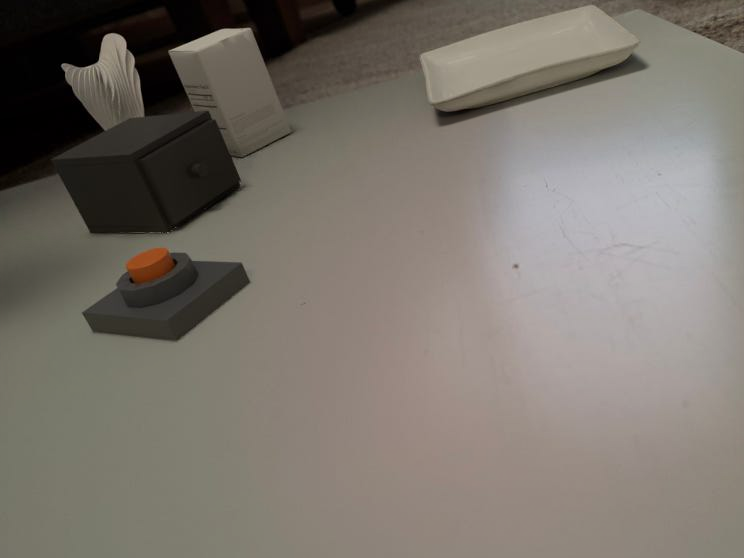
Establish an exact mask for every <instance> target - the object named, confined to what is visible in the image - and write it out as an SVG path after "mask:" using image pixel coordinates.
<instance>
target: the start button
mask: <svg viewBox="0 0 744 558" xmlns="http://www.w3.org/2000/svg"><path fill="white" fill-rule="evenodd" d="M170 253H171V252H170V251H169V249H168V248H166V247H155V248H151V249H148V250H144V251H142V252H140V253H138V254H136V255H135V256H132V258H130V259H129V260H128V261H127V262H126V263H125V269H126V272H127V271H128V273H129V274H130V276H131V278H132V280H133V282H134V283H136V284H141V283H145V282H149V281H152V280H155V279H157V278H159V277H161V276H164V275H166V274H167V273H168V272H170V271H171V270H172V269H174V268H175V263H174V261H173V259H172V257H171V255H170Z"/></svg>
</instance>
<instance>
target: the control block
mask: <svg viewBox="0 0 744 558" xmlns="http://www.w3.org/2000/svg"><path fill="white" fill-rule="evenodd" d="M169 253H170V255H171V257H172V259H173V261H174V263H175V268H174V269H172V270H171V271H170V272H168V273H167V274H166V275H164V276H161V277H159V278H157V279H155V280H152V281H149V282H145V283H141V284H136V283H134V282H133V280H132V278H131V276H130V274H129V273H128V271H127V270H126V272H124V273H122V274H121V276H120V277H119V278H118V280H117V281H116V283H115V285H116V288H114V289H113V290H112V291H111V292H108V294H106V295H104V297H102V298H101V299H99V300H97V301H96V302H95V303H93V304H92V305H91V306H89V307H88V308H86V309H84V310H83V311H82V312H81V314H82V316H83V317H84V319H85V321H86V323H87V324H88V326H89V328H90V330H91V332H92V333H101V334H111V335H120V336H121V335H122V336H130V337H138V338H139V337H140V338H147V339H148V338H149V339H158V340H167V341H179V340H180V339H181V338H182V337H183V336H185V335H186V334H187V333H189V332H190V331H191V330H192V329H194V328H195V327H196V326H197V325H199V324H200V323H201V322H202V321H203V320H205V319H206V318H208V317H209V315H211V314H212V313H213V312H215V311H216V310H217V309H218V308H220V307H221V306H222V305H224V304H225V303H226V302H228V301H229V300H230V299H231V298H233V296H234V295H236V294H237V293H238V292H240V291H241V290H243V288H245V287H246V286H247V285H248V284H250V283H251V280H250V278H249V276H248V274H247V271H246V269H245V267H244V265H243V262H242V261H241V262H237V261H215V260H213V261H212V260H211V261H210V260H208V261H207V260H192V258H191V257H190V256H189V255H188V254H187V253H186V252H169Z"/></svg>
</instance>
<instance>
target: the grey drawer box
mask: <svg viewBox="0 0 744 558" xmlns="http://www.w3.org/2000/svg"><path fill="white" fill-rule="evenodd" d="M208 120H212V118H211V115H210V113H209V111H198V112H195V111H190V112H180V113H179V112H178V113H170V114H169V113H168V114H157V115H150V116H149V115H148V116H147V115H146V116H145V117H137V118H129V119H127V120H125V121H124V122H122V123H120V124H118V125H116V126H114V127H112V128H110V129H108V130H106V131H105V130H104V131H102V132H101V133H99V134H97V135H95V136H93V137H91V138H89V139H87V140H85V141H83V142H81V143H79V144H78V145H76V146H74V147H72V148H70V149H68V150H66V151H64V152H62V153H60V154H59V155H57V156H55V157H53V158H51V159H50V162H51V163H52V165H53V167H54V169H55V171H56V173H57V174H58V176H59V178H60V180H61V182H62V183H63V185H64V187H65V189H66V191H67V192H68V194H69V197H70V198H71V201H73V203H74V205H75V207H76V209H77V211H78V213H79V215H80V216H81V218H82V220H83V222H84V223H85V225H86V227H87V229H88V231H89V233H90V234H115V233H114V232H161V233H160V234H168V233H167V232H170V231H171V230H173V229H174V228H175V227H177V226H179V225H180V226H182V225H183V224H185V223H186V222H188V221H190V220H191V219H192V218H194V217H196V216H197V215H198V214H200V213H201V212H203V211H205V210H206V209H207V207H208V206H209V207H210V205H211V206H212V205H214V204H215V203H217V202H218V201H220V200H221V199H223V198H224V197H225V196H228V194H230V193H231V192H233V191H234V190H236V189H237V188H240V186H241V183H240V181H239V182H238V183H236V184H235V185H233V186H232V187H230V188H229V189H227V190H226V191H224V192H223V193H221V194H220V195H218V196H217V197H215V198H214V199H212V200H211V201H209V202H208V203H206V204H205V205H203V206H202V207H200V208H199V209H197V210H196V211H194V212H193V213H191V214H190V215H188V216H187V217H185V218H184V219H182V220H181V221H179V222H178V223H176V224H169V223H168V221H167V219H166V217H165V214H164V212H163V210H162V208H161V206H160V204H159V202H158V200H157V198H156V196H155V194H154V192H153V190H152V188H151V186H150V184H149V182H148V180H147V178H146V176H145V173H144V171H143V169H142V167H141V165H140V163H139V161H138V160H140V158H141V157H143V156H145V155H147V154H148V153H150V152H152V151H154V150H155V149H157V148H159V147H161V146H162V145H164V144H166V143H168V142H169V141H171V140H173V139H175V138H176V137H178V136H180V135H182V134H183V133H185V132H187V131H189V130H190V129H192V128H194V127H196V126H199V125H201V124H203V123H204V122H206V121H208ZM216 201H217V202H216ZM213 203H214V204H213ZM209 207H208V208H209ZM205 208H206V209H205ZM204 209H205V210H204ZM202 210H203V211H202ZM199 212H200V213H199ZM196 214H197V215H196ZM187 220H188V221H187ZM184 222H185V223H184ZM182 223H183V224H182ZM181 224H182V225H181ZM180 226H179V227H180ZM177 228H178V227H177ZM174 230H175V229H174ZM174 230H173V231H174ZM109 232H110V233H109ZM162 232H163V233H162ZM165 232H166V233H165ZM171 232H172V231H171ZM171 232H170V233H171Z"/></svg>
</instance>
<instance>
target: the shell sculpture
mask: <svg viewBox="0 0 744 558" xmlns="http://www.w3.org/2000/svg"><path fill="white" fill-rule="evenodd" d="M98 58H99V59H98V61H97V62H95V63H93V64H91V65H88V66H85V67H78V66H75V65H73V64H69V63H62V64H61V69H62V70H63V71H64V72H65V74H64V77H65V81H66V83H67V84H68V85H69V86H71V89H72V91H73V94H74V96H75V97H76V98H77V99H78V100H79V101H80V102H81V104H82V106H83V107H84V108H85V109H86V111H87V113H88V114H90V115H91V117H92V118H93V119H94V120H95V121H96V123H97V124H99V126H100V127H101V128H102V129H103V130H104V131H106V130H108V129H110V128H112V127H114V126H116V125H118V124H120V123H122V122H124V121H125V120H127V119H129V118H137V117H146V116H145V107H144V101H143V95H142V90H141V79H140V75H139V72H138V69H137V68H136V67H135V64H136V60H135V57H134V55H133V53H132V52H131V51H130V50H129V49H127V41H126V39H125V37H123V36H122V35H120V34H118V33H115V32H111V33H107V34H105V35H104V36H103V38H102V41H101V46H100V52H99V57H98Z"/></svg>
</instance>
